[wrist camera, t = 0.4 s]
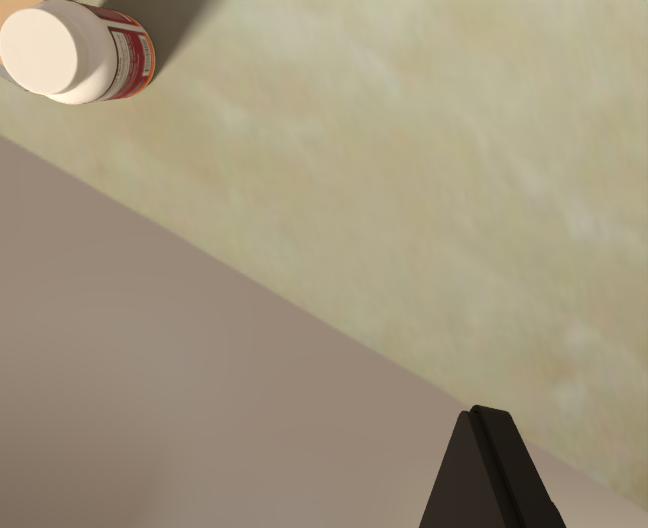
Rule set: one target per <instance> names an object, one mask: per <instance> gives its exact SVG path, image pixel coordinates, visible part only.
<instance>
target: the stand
mask: <svg viewBox="0 0 648 528" xmlns="http://www.w3.org/2000/svg"><path fill="white" fill-rule="evenodd" d="M43 1H46V0H0V31H1V28H2V26H3V24H4V22H5V21H6V19H7V18H8V17H9V16H10V15H11V14H13V13H14V12H16V11H18V10H20V9H24V8H31V7H33V6H34V5H36V4H38V3H40V2H43ZM0 76H1V77H3V78H4V79H6V80H8V81H9V82H11V83H13V84H14V85H16V86H18V87H20V88H21V89H23V90H25V91H29V90H27V89H25V88H24V87H22V86H21V85H20V84H18V83H17V82H16V81H15V80H14V79H13V78H12V77H11V76H10V74H9V73H8V71H7V70H6V68H5V66H4V64H3V62H2V59H1V56H0Z"/></svg>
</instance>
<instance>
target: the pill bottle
mask: <svg viewBox="0 0 648 528" xmlns="http://www.w3.org/2000/svg"><path fill="white" fill-rule="evenodd" d="M0 56H1V59H2V62H3V64H4V66H5V68H6V70H7V71H8V73H9V74H10V76H11V77H12V78H13V79H14V80H15V81H16V82H17V83H18V84H20V85H21V86H22V87H24V88H25V89H27V90H29V91H32V92H34V93H38V94H44V95H45V96H47V97H49V98H51V99H53V100H55V101H58V102H61V103H65V104H84V103H91V102H98V101H106V100H113V99H121V98H127V97H130V96H133V95H135V94H137V93H139V92H141V91H142V90H143V89H144V88H145V87H146V86H147V85H148V83H149V82H150V80H151V78H152V76H153V73H154V69H155V51H154V47H153V44H152V41H151V39H150V37H149V35H148V34H147V32H146V31H145V30H144V28H143V27H142V26H141V25H140V24H139V23H138V22H137V21H135V20H134V19H132V18H131V17H129V16H127V15H125V14H123V13H120V12H117V11H113V10H108V9H104V8H99V7H95V6H90V5H86V4H82V3H77V2H73V1H68V0H46V1H43V2H40V3H38V4H36V5H34V6H33V7H31V8H24V9H20V10H18V11H16V12H14V13H13V14H11V15H10V16H9V17H8V18H7V19H6V21H5V22H4V24H3V26H2V28H1V31H0Z"/></svg>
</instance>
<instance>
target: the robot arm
mask: <svg viewBox="0 0 648 528" xmlns="http://www.w3.org/2000/svg"><path fill="white" fill-rule="evenodd" d="M419 528H566V526H565V524H564V522H563V519H562V517H561V515H560V513H559V511H558V509H557V508H556V506H555V505H554V503H553V502H552V501H551V499H550V497H549V495H548V493H547V491H546V489H545V487H544V485H543V482H542V480H541V478H540V476H539V474H538V472H537V470H536V468H535V465H534V463H533V461H532V459H531V457H530V455H529V453H528V451H527V449H526V446H525V444H524V442H523V440H522V438H521V436H520V434H519V432H518V430H517V428H516V425H515V423H514V421H513V419H512V417H511V415H510V414H509V412H507V411H503V410H499V409H494V408H489V407H484V406H480V405H475V406H473V407H472V408H471V410H470V412H468V411H462V412H461V413H460V414H459V417H458V419H457V422H456V425H455V428H454V430H453V433H452V436H451V439H450V441H449V444H448V447H447V450H446V453H445V455H444V458H443V461H442V464H441V467H440V470H439V472H438V475H437V478H436V481H435V484H434V486H433V489H432V492H431V495H430V498H429V500H428V503H427V506H426V509H425V511H424V514H423V517H422V520H421V523H420V526H419Z"/></svg>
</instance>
